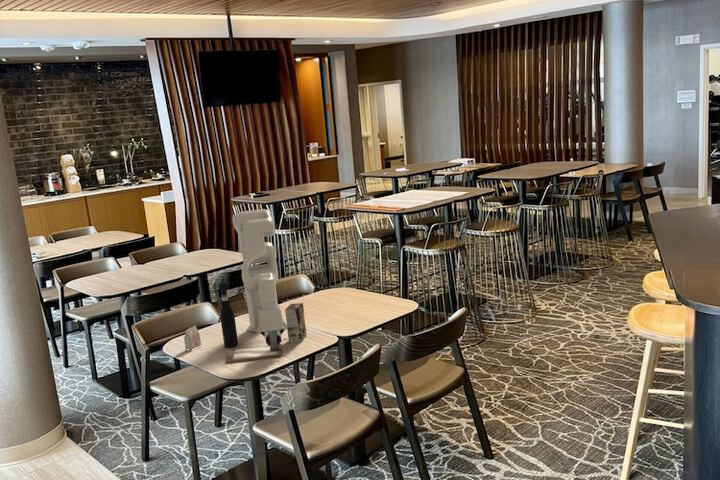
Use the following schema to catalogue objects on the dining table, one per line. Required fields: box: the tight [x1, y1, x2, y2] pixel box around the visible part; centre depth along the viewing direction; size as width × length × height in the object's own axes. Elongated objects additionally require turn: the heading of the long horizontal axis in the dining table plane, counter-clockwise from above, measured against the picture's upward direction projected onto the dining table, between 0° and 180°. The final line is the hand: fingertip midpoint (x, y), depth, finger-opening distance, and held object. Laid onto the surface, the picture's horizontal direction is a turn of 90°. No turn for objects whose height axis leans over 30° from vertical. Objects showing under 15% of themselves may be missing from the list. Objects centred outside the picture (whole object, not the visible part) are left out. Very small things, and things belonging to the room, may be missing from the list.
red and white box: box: [183, 325, 202, 350], centre depth 311 cm, size 4×7×10 cm, turn 155°
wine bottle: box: [218, 282, 239, 349], centre depth 307 cm, size 6×6×30 cm
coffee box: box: [284, 302, 308, 343], centre depth 309 cm, size 9×6×16 cm
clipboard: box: [225, 343, 283, 364], centre depth 296 cm, size 14×24×2 cm, turn 94°
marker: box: [268, 330, 279, 351], centre depth 295 cm, size 4×4×12 cm
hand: (274, 344), depth 296 cm, fingers closed on marker, 4 cm apart
